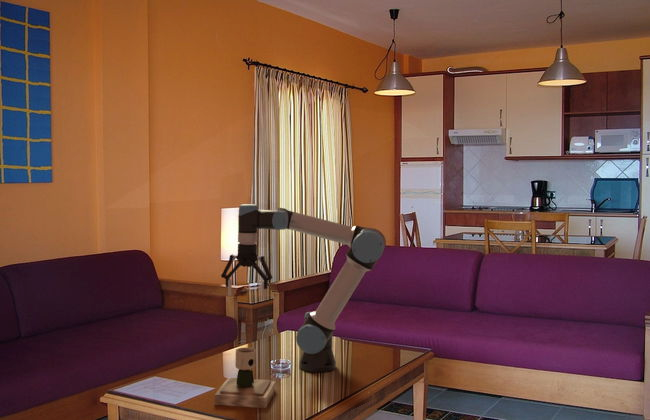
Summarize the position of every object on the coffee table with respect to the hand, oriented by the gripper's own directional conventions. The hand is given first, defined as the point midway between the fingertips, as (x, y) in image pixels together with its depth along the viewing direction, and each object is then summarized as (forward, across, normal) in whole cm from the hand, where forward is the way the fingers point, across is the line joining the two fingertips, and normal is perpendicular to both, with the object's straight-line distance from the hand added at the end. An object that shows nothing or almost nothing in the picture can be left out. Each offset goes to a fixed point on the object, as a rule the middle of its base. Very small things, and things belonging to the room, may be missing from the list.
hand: (246, 296), depth 268 cm
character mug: (+26, -7, +30) cm, 40 cm away
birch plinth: (+31, -7, +29) cm, 43 cm away
